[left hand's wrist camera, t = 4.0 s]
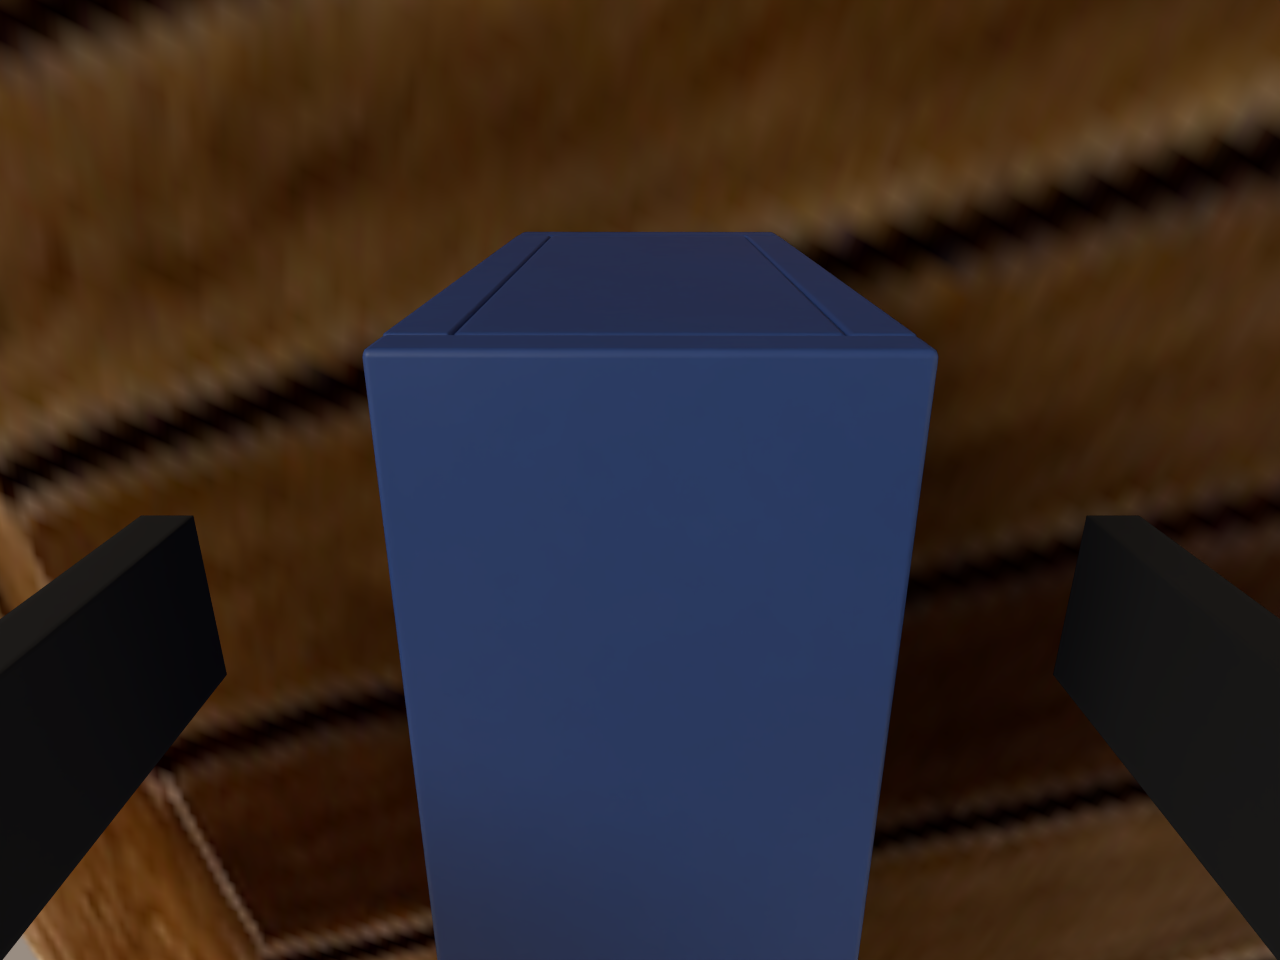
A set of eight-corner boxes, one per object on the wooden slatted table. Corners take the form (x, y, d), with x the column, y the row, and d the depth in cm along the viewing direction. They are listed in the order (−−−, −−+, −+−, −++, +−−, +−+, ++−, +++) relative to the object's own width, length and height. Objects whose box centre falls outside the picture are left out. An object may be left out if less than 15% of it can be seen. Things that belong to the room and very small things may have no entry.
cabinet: (736, 901, 25) (798, 1420, 15) (555, 900, 25) (492, 1417, 15) (774, 231, 18) (942, 349, 8) (521, 231, 18) (358, 349, 8)
